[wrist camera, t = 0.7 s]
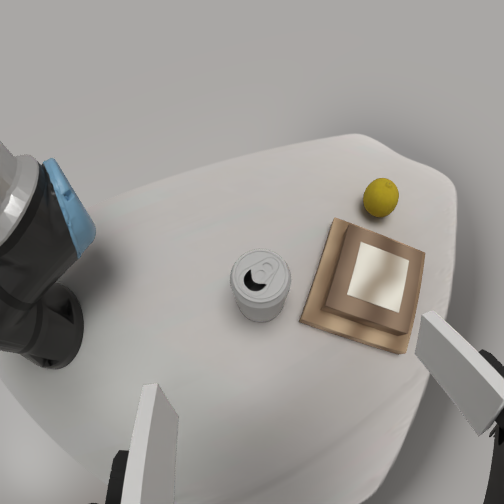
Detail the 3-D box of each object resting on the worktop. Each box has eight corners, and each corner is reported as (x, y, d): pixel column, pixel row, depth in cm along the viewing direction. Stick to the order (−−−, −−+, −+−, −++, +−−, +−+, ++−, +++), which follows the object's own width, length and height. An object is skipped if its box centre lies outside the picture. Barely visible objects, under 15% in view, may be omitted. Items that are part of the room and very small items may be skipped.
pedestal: (299, 321, 38) (304, 315, 32) (331, 225, 43) (339, 206, 38) (398, 354, 35) (416, 351, 30) (418, 258, 40) (435, 244, 35)
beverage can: (228, 300, 39) (215, 275, 28) (260, 269, 41) (259, 233, 30) (261, 332, 37) (261, 319, 26) (293, 299, 39) (305, 273, 28)
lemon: (385, 229, 42) (404, 204, 35) (355, 218, 43) (370, 191, 36) (388, 203, 44) (406, 176, 37) (360, 192, 45) (374, 163, 38)
